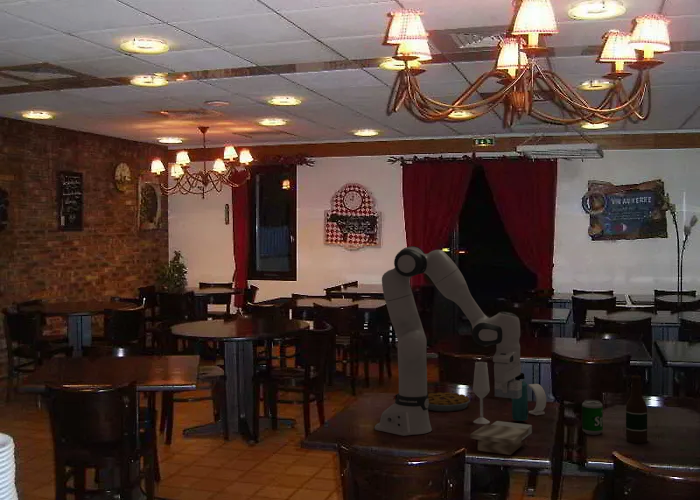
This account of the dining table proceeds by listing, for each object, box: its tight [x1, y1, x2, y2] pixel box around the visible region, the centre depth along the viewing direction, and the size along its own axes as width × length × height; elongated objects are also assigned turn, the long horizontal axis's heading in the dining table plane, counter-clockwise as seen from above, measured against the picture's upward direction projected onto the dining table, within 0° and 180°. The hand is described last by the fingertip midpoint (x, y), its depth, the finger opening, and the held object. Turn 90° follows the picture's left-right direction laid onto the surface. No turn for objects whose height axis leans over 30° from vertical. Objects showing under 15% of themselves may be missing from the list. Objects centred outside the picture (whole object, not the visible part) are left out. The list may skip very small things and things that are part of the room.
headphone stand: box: [527, 383, 547, 416], centre depth 331 cm, size 5×6×12 cm
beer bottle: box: [625, 374, 648, 444], centre depth 289 cm, size 8×8×24 cm
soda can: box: [581, 399, 604, 436], centre depth 301 cm, size 8×8×12 cm
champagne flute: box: [472, 361, 491, 425], centre depth 319 cm, size 7×7×24 cm
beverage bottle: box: [511, 372, 529, 422], centre depth 317 cm, size 6×7×20 cm
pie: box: [427, 391, 471, 412], centre depth 347 cm, size 22×22×5 cm
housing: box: [494, 379, 523, 400], centre depth 300 cm, size 9×5×6 cm, turn 60°
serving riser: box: [469, 423, 528, 456], centre depth 282 cm, size 16×16×6 cm
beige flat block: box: [491, 420, 533, 442], centre depth 300 cm, size 14×12×3 cm
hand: (508, 390), depth 300 cm, fingers closed on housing, 5 cm apart
